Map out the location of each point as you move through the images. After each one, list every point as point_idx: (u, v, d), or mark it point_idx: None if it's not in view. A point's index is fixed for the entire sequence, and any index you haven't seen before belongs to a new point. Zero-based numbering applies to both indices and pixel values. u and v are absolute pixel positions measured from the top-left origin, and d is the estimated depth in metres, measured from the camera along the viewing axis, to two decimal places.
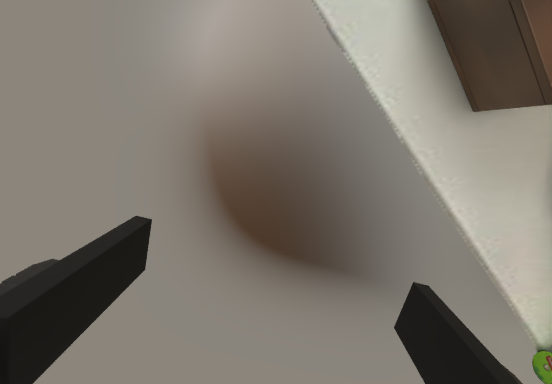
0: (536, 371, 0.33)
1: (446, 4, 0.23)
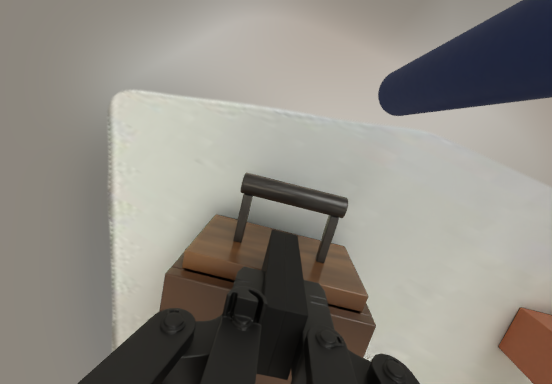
0: None
1: None
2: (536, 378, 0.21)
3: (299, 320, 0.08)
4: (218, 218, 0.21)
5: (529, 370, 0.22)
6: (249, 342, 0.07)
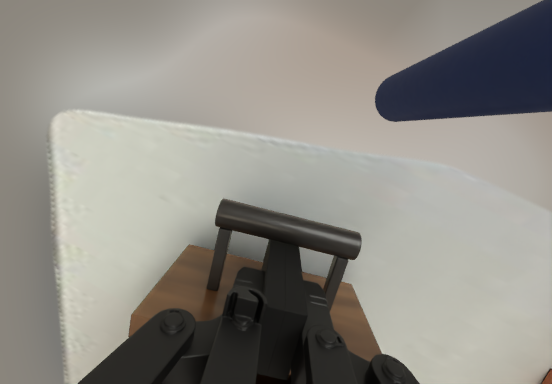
0: None
1: None
2: None
3: (299, 320, 0.08)
4: (191, 251, 0.17)
5: None
6: (249, 342, 0.07)
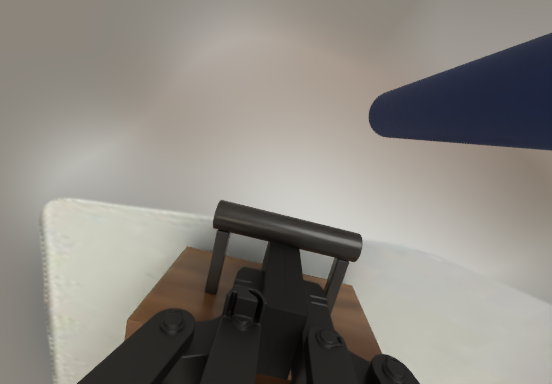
0: None
1: None
2: None
3: (299, 320, 0.08)
4: (189, 253, 0.16)
5: None
6: (249, 342, 0.07)
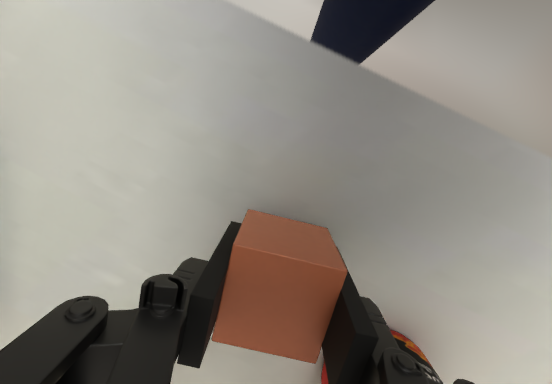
0: None
1: None
2: None
3: (369, 342, 0.08)
4: None
5: None
6: (168, 330, 0.07)
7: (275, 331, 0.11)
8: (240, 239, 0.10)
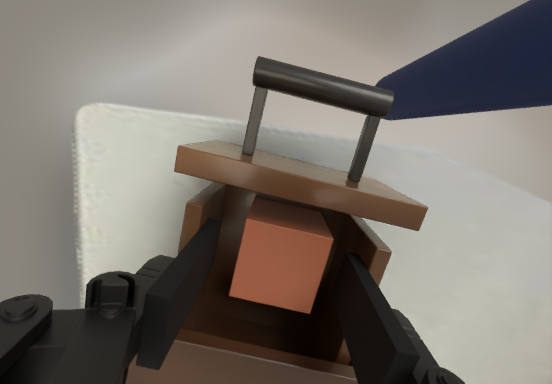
0: None
1: None
2: None
3: (410, 360, 0.08)
4: (219, 141, 0.17)
5: None
6: (119, 329, 0.06)
7: (278, 287, 0.14)
8: (251, 216, 0.13)
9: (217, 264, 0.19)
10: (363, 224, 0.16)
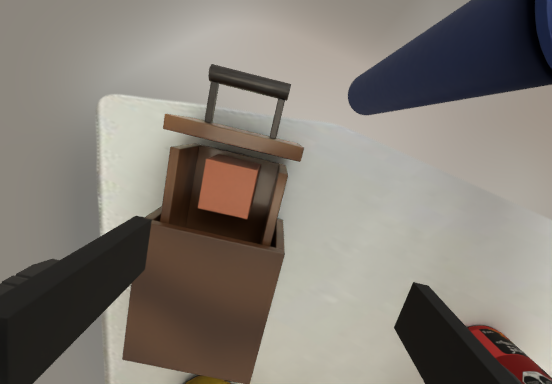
0: None
1: None
2: None
3: None
4: (194, 118, 0.26)
5: None
6: None
7: (227, 202, 0.23)
8: (209, 158, 0.23)
9: (194, 201, 0.28)
10: (283, 168, 0.25)
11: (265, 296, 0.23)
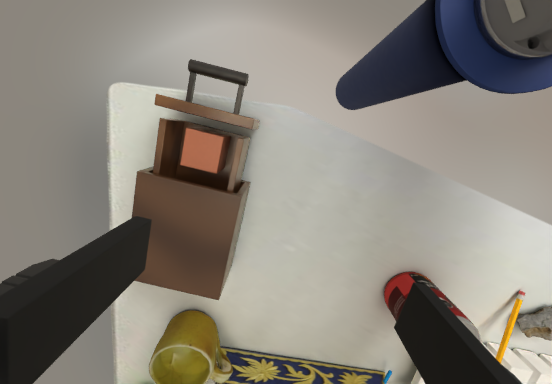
0: None
1: None
2: None
3: None
4: None
5: None
6: None
7: (201, 160, 0.32)
8: (189, 128, 0.31)
9: (181, 165, 0.37)
10: (245, 137, 0.33)
11: (228, 229, 0.32)
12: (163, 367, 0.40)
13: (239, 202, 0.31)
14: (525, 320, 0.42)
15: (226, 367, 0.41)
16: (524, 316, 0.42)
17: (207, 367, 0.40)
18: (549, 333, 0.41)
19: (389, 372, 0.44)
